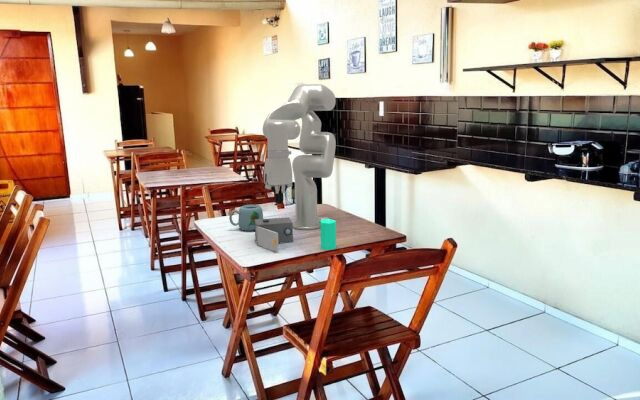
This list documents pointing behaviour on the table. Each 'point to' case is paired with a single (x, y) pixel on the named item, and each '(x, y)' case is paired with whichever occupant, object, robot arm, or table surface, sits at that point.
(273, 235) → the side door
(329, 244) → the candle
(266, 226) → the camera body
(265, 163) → the robot arm
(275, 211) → the table surface
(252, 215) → the mug
